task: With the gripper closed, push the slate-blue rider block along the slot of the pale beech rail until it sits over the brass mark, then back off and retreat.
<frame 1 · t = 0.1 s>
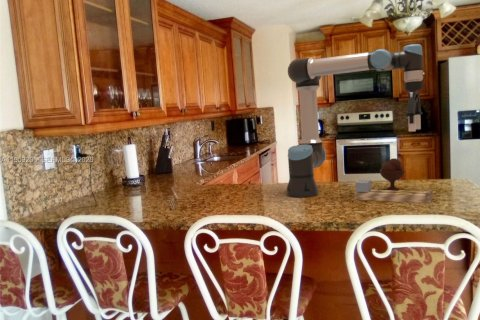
hand: (414, 130, 180), 28 cm above the countertop, fingers open, 13 cm apart
rail: (392, 199, 174), on the countertop
ice cream bowl: (392, 190, 193), on the countertop
rider: (363, 188, 180), point 4 cm above the countertop, slide at 0.0 cm
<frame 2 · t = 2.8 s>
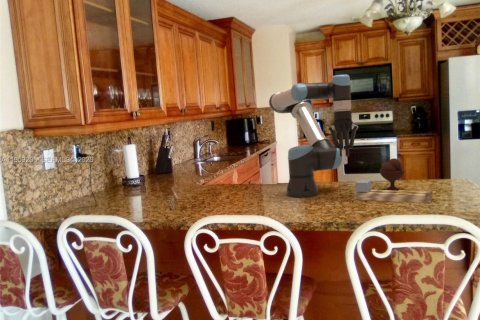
hand: (345, 163, 183), 15 cm above the countertop, fingers closed
nothing on the countertop moved.
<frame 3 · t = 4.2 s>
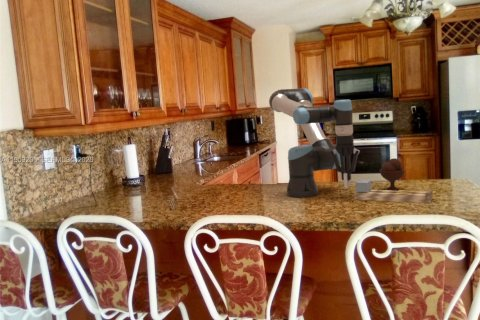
hand: (346, 187, 184), 4 cm above the countertop, fingers closed
nothing on the countertop moved.
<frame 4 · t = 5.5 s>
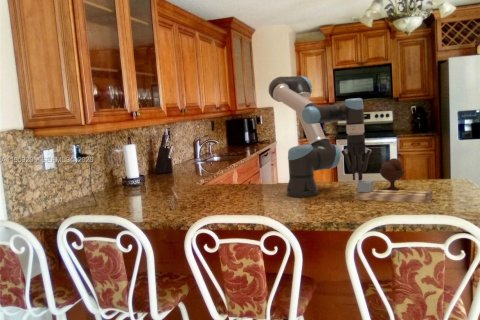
hand: (358, 187, 181), 5 cm above the countertop, fingers closed
rider: (365, 188, 179), point 4 cm above the countertop, slide at 0.8 cm, touching gripper
everything else where it was.
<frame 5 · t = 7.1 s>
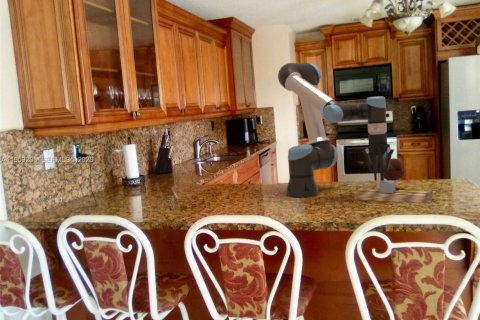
hand: (379, 188, 176), 5 cm above the countertop, fingers closed
rider: (387, 188, 174), point 4 cm above the countertop, slide at 10.1 cm, touching gripper
everything else where it was.
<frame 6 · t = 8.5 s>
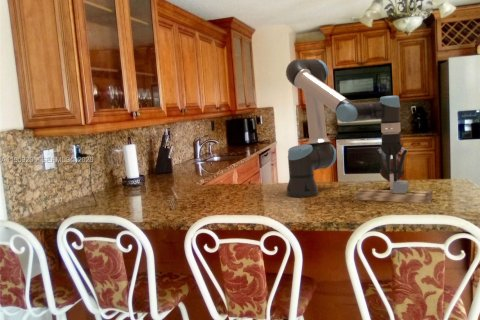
hand: (392, 188, 173), 4 cm above the countertop, fingers closed
rider: (400, 189, 172), point 4 cm above the countertop, slide at 15.4 cm, touching gripper
everything else where it was.
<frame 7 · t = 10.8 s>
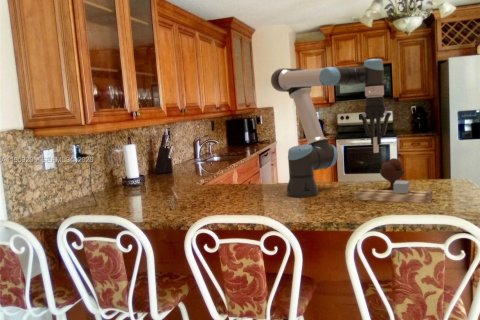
hand: (376, 152, 175), 20 cm above the countertop, fingers closed
rider: (401, 189, 171), point 4 cm above the countertop, slide at 15.7 cm
everything else where it was.
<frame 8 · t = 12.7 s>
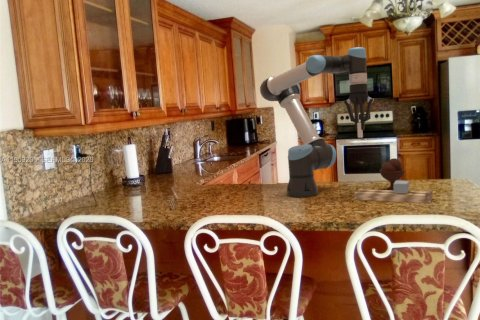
hand: (360, 137, 183), 26 cm above the countertop, fingers closed
nothing on the countertop moved.
at the end: rider slide at 15.7 cm; rider 0.5 cm from the target spot, resting on rail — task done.
